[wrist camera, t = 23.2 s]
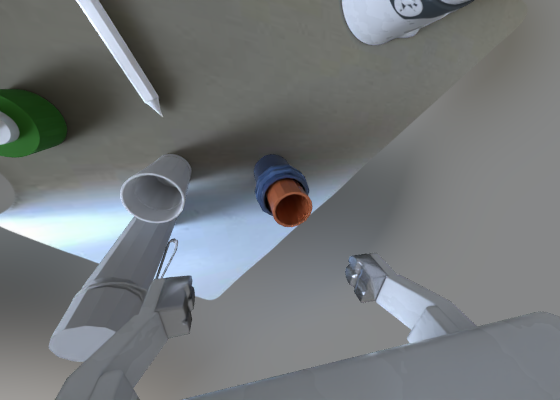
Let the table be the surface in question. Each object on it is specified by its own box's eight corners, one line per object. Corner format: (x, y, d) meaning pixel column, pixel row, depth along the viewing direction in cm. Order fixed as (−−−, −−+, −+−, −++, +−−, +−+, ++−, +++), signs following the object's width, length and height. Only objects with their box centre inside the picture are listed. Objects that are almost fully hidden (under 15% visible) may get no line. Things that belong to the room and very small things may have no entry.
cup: (193, 150, 38) (181, 173, 28) (197, 188, 41) (187, 221, 31) (145, 148, 36) (112, 172, 26) (154, 189, 40) (128, 224, 29)
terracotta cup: (274, 162, 36) (288, 184, 27) (299, 177, 39) (319, 202, 30) (256, 188, 38) (265, 218, 29) (282, 201, 40) (296, 232, 32)
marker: (165, 117, 35) (85, -5, 26) (173, 113, 34) (94, -14, 25) (154, 122, 33) (64, -7, 24) (162, 118, 32) (73, -17, 24)
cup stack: (266, 147, 40) (278, 166, 30) (296, 165, 44) (316, 189, 34) (246, 178, 43) (252, 207, 33) (276, 193, 46) (290, 224, 36)
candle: (-18, 119, 29) (-119, 131, 21) (9, 75, 28) (-87, 69, 19) (50, 157, 33) (-10, 181, 25) (78, 121, 32) (23, 133, 23)
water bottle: (130, 219, 41) (26, 358, 20) (152, 192, 40) (64, 312, 18) (172, 239, 46) (124, 371, 24) (193, 216, 44) (161, 335, 23)
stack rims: (272, 154, 33) (275, 159, 31) (313, 179, 37) (318, 185, 35) (245, 197, 36) (246, 204, 33) (287, 216, 40) (290, 223, 37)
